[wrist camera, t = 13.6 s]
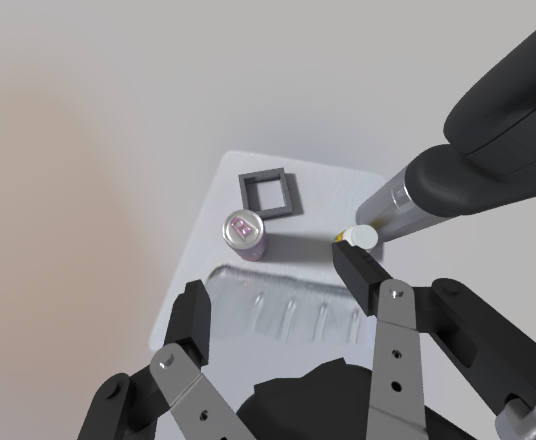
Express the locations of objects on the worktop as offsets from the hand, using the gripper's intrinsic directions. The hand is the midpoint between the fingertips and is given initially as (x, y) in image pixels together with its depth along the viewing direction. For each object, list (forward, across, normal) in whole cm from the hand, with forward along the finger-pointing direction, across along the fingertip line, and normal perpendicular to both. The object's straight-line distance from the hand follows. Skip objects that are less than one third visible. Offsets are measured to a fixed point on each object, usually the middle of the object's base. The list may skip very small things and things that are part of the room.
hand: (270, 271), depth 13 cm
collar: (+34, -4, +10) cm, 35 cm away
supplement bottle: (+23, -16, +20) cm, 35 cm away
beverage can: (+27, +2, +17) cm, 32 cm away
